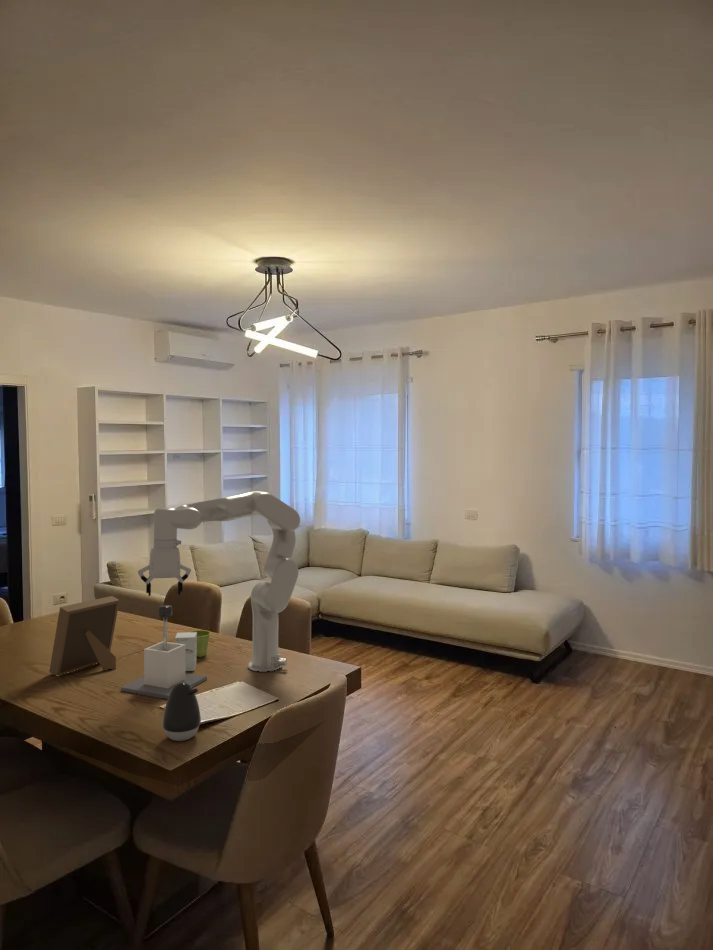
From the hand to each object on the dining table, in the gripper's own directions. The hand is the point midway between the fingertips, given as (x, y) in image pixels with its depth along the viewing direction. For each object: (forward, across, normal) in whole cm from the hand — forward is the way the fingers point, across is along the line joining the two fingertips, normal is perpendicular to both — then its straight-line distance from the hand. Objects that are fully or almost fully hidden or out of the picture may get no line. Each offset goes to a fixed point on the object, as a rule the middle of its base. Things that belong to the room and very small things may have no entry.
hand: (164, 594), depth 214 cm
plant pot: (+31, -14, -30) cm, 46 cm away
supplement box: (+31, -9, -16) cm, 36 cm away
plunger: (+22, -1, 0) cm, 22 cm away
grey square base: (+31, -1, 0) cm, 31 cm away
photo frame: (+32, +25, -24) cm, 47 cm away
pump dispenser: (+32, -4, +43) cm, 53 cm away
